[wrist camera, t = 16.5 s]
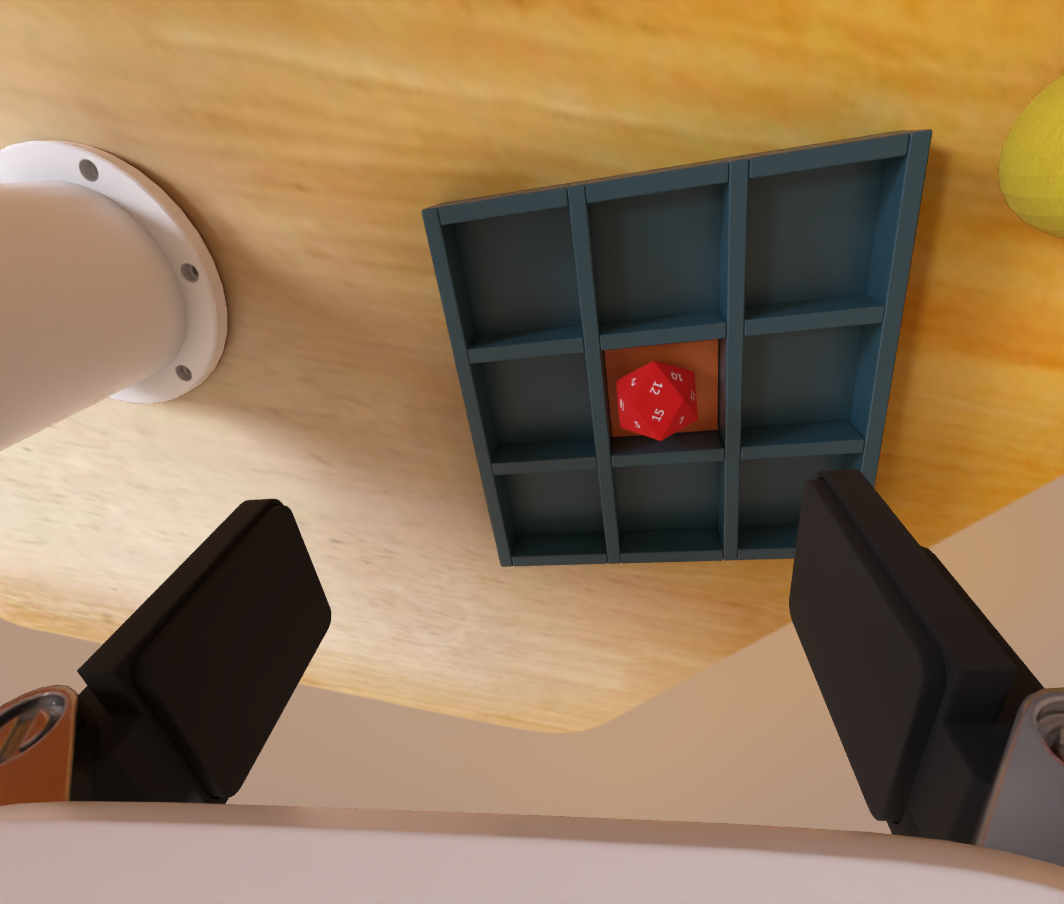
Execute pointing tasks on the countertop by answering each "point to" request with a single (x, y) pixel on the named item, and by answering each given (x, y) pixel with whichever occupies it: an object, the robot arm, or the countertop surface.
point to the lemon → (1037, 162)
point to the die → (657, 400)
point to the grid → (679, 344)
